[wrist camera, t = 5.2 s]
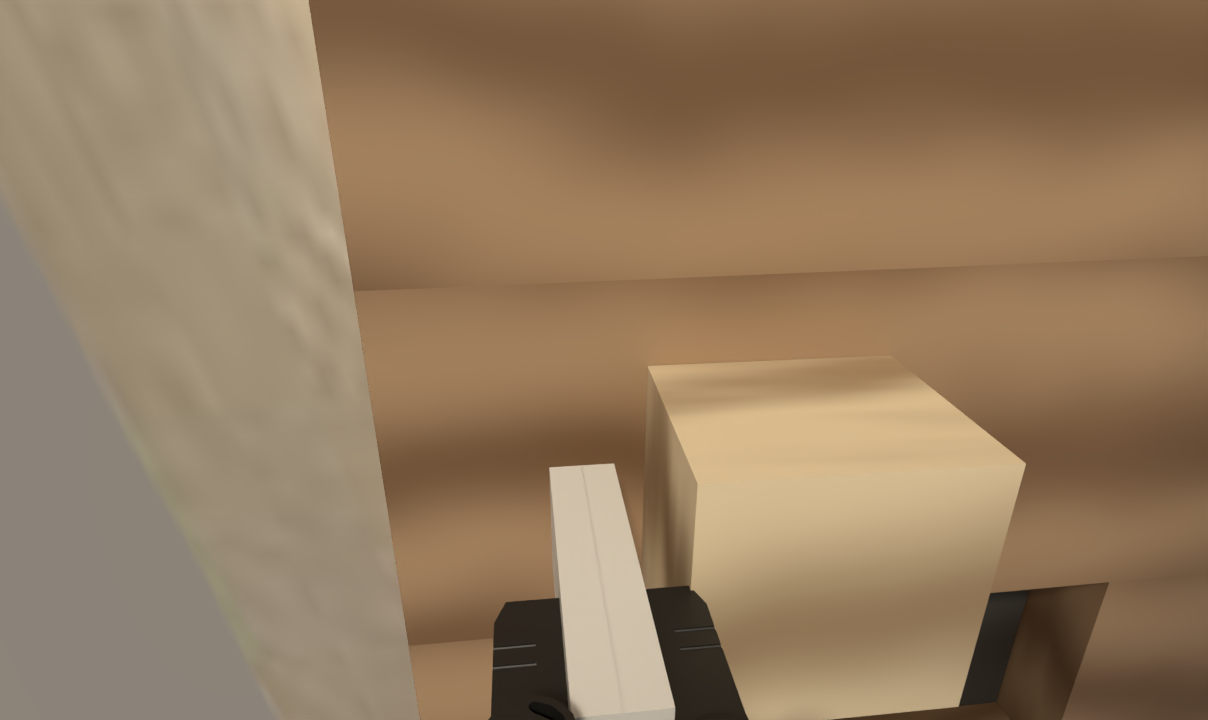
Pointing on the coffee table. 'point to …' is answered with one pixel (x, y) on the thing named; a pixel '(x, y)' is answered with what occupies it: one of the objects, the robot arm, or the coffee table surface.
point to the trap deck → (791, 286)
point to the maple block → (826, 528)
